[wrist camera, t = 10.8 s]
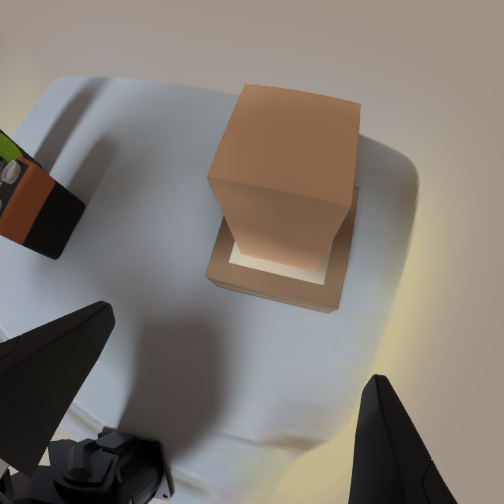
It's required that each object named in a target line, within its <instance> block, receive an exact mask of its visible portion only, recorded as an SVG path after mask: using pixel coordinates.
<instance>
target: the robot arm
mask: <svg viewBox="0 0 504 504" xmlns="http://www.w3.org/2000/svg"><path fill="white" fill-rule="evenodd" d="M114 326H115V317H114V313H113V309H112V306H111V304H109V303H107V302H104V301H98V302H96V303H94V304H91V305H89V306H87V307H84V308H82V309H79V310H77V311H75V312H72V313H70V314H68V315H65V316H63V317H61V318H58V319H56V320H54V321H51V322H49V323H47V324H44V325H42V326H40V327H37V328H35V329H33V330H30V331H28V332H26V333H24V334H21V335H19V336H17V337H14V338H12V339H10V340H7V341H5V342H2V343H0V504H148V503H149V502H150V501H151V500H152V499H153V498H157V499H163V500H170V498H171V497H172V493H171V489H170V484H169V480H168V475H167V470H166V465H165V460H164V454H163V449H162V444H161V443H160V442H159V441H157V440H151V439H143V438H138V437H137V436H136V435H131V434H124V433H118V432H111V433H106V432H101V433H99V434H98V439H96V440H92V439H89V438H87V439H85V440H83V441H80V442H76V441H73V440H70V439H67V440H64V439H61V440H58V441H50V440H51V439H52V437H53V435H54V433H55V431H56V429H57V428H58V426H59V424H60V422H61V420H62V419H63V417H64V415H65V413H66V411H67V410H68V408H69V406H70V405H71V403H72V401H73V399H74V398H75V396H76V394H77V393H78V391H79V389H80V388H81V386H82V384H83V383H84V381H85V379H86V378H87V376H88V374H89V373H90V371H91V370H92V368H93V366H94V365H95V363H96V361H97V360H98V358H99V356H100V354H101V352H102V350H103V348H104V346H105V344H106V342H107V340H108V338H109V336H110V334H111V332H112V330H113V328H114ZM102 436H103V437H102ZM154 444H156V445H157V446H158V448H157V447H155V446H154ZM47 446H48V452H49V460H50V466H42V465H38V464H39V462H40V460H41V458H42V456H43V454H44V452H45V450H46V448H47ZM9 465H10V466H12V467H13V468H15V469H16V470H17V471H19V472H18V473H16V474H13V475H12V476H10V471H9V469H8V467H9ZM165 494H166V495H167V496H165ZM348 504H458V503H457V501H456V500H455V498H454V497H453V495H452V494H451V492H450V490H449V489H448V487H447V486H446V484H445V482H444V481H443V479H442V477H441V475H440V474H439V471H438V470H437V468H436V466H435V464H434V462H433V460H431V456H430V454H429V452H428V450H427V448H426V447H425V445H424V443H423V441H422V439H421V437H420V435H419V434H418V432H417V430H416V428H415V426H414V424H413V422H412V421H411V419H410V417H409V415H408V413H407V412H406V410H405V408H404V406H403V405H402V403H401V401H400V400H399V397H398V396H397V394H396V392H395V391H394V389H393V387H392V385H391V384H390V382H389V380H388V378H387V377H386V376H384V375H378V374H374V375H373V376H372V377H371V379H370V380H369V381H368V383H367V384H366V386H365V387H364V389H363V392H362V396H361V403H360V410H359V416H358V422H357V428H356V434H355V445H354V458H353V469H352V478H351V487H350V495H349V502H348Z"/></svg>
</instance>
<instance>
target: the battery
mask: <svg viewBox="0 0 504 504" xmlns="http://www.w3.org/2000/svg"><path fill="white" fill-rule="evenodd" d="M1 179H2V182H1V184H0V235H1V236H3V237H5V238H7V239H10V240H12V241H14V242H16V243H18V244H20V245H22V246H24V247H27V248H29V249H31V250H33V251H35V252H38V253H40V254H42V255H44V256H47V257H49V258H51V259H54V260H56V259H58V257H59V255H60V253H61V251H62V249H63V247H64V245H65V243H66V241H67V239H68V237H69V236H70V234H71V232H72V230H73V228H74V226H75V224H76V222H77V221H78V219H79V217H80V215H81V214H82V212H83V210H84V208H85V204H84V203H83V202H82V201H81V200H80V199H78V198H77V197H76V196H75V195H73V194H72V193H71V192H69V191H68V190H67V189H66V188H64V187H63V186H62V185H61V184H59V183H58V182H57V181H56V180H54V179H53V178H52V177H51V176H50V175H48V174H47V173H46V172H45V171H44V170H42V169H41V168H40V167H39V166H38V165H36V164H35V163H33V162H31V161H29V160H27V159H25V158H23V157H21V156H18V157H16V159H15V160H12V161H11V162H10V163H9V164H8V165H7V166H6V167H5V170H4V172H3V175H2V178H1Z"/></svg>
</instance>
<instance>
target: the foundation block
mask: <svg viewBox="0 0 504 504" xmlns="http://www.w3.org/2000/svg"><path fill="white" fill-rule="evenodd" d="M358 189H359V187H355V186H353V194H352V202H351V207H350V209H349V211H348V213H347V215H346V217H345V219H344V221H343V222H342V224H341V226H340V228H339V230H338V232H337V234H336V235H335V237H334V239H333V241H332V243H331V244H330V246H329V248H328V250H327V252H326V253H325V255H324V257H323V259H322V261H321V262H320V264H319V266H318V268H317V269H316V271H310V270H306V269H302V268H297V267H293V266H289V265H285V264H280V263H276V262H272V261H268V260H263V259H259V258H255V257H250V256H246V255H242V254H241V253H240V250H239V248H238V246H237V244H236V242H235V239H234V237H233V235H232V233H231V230H230V228H229V226H228V224H227V221H226V219H225V217H223V220H222V223H221V226H220V229H219V233H218V236H217V239H216V242H215V245H214V249H213V252H212V255H211V258H210V262H209V265H208V268H207V272H206V275H205V277H207V278H208V279H209V280H210V281H211V282H213V283H214V284H215V285H216V286H218V287H222V288H226V289H230V290H233V291H237V292H241V293H245V294H249V295H253V296H257V297H261V298H265V299H269V300H273V301H277V302H281V303H285V304H289V305H294V306H298V307H302V308H306V309H311V310H315V311H319V312H324V313H330V312H332V311H335V310H337V309H338V308H339V304H340V299H341V294H342V289H343V284H344V279H345V274H346V269H347V263H348V257H349V252H350V246H351V239H352V233H353V226H354V220H355V212H356V205H357V197H358Z"/></svg>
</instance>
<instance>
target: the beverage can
mask: <svg viewBox="0 0 504 504" xmlns="http://www.w3.org/2000/svg"><path fill="white" fill-rule="evenodd" d="M18 156H21V157H23V158H25V159H27V160H29V161H31V162H33V163H35V164H36V165H38V166H39V167H40V168H41V169H42V167H41V165H40V164H39V163H38V162H37V161H35V160H34V159H33V158H32V157H31V156H30V155H29V154H27V153H26V152H25V151H24V150H23V149H22V148H20V147H19V146H18V145H17V144H16V143H15V142H14V141H13V140H11V139H10V138H9V137H8V136H7V135H6V134H5V133H4V132H3V131H2V130H0V184H1V182H2V179H1V178H2V175H3V172H4V170H5V167H6V166H7V165H8V164H9V163H10V162H11V161H12V160H15V159H16V157H18Z"/></svg>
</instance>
